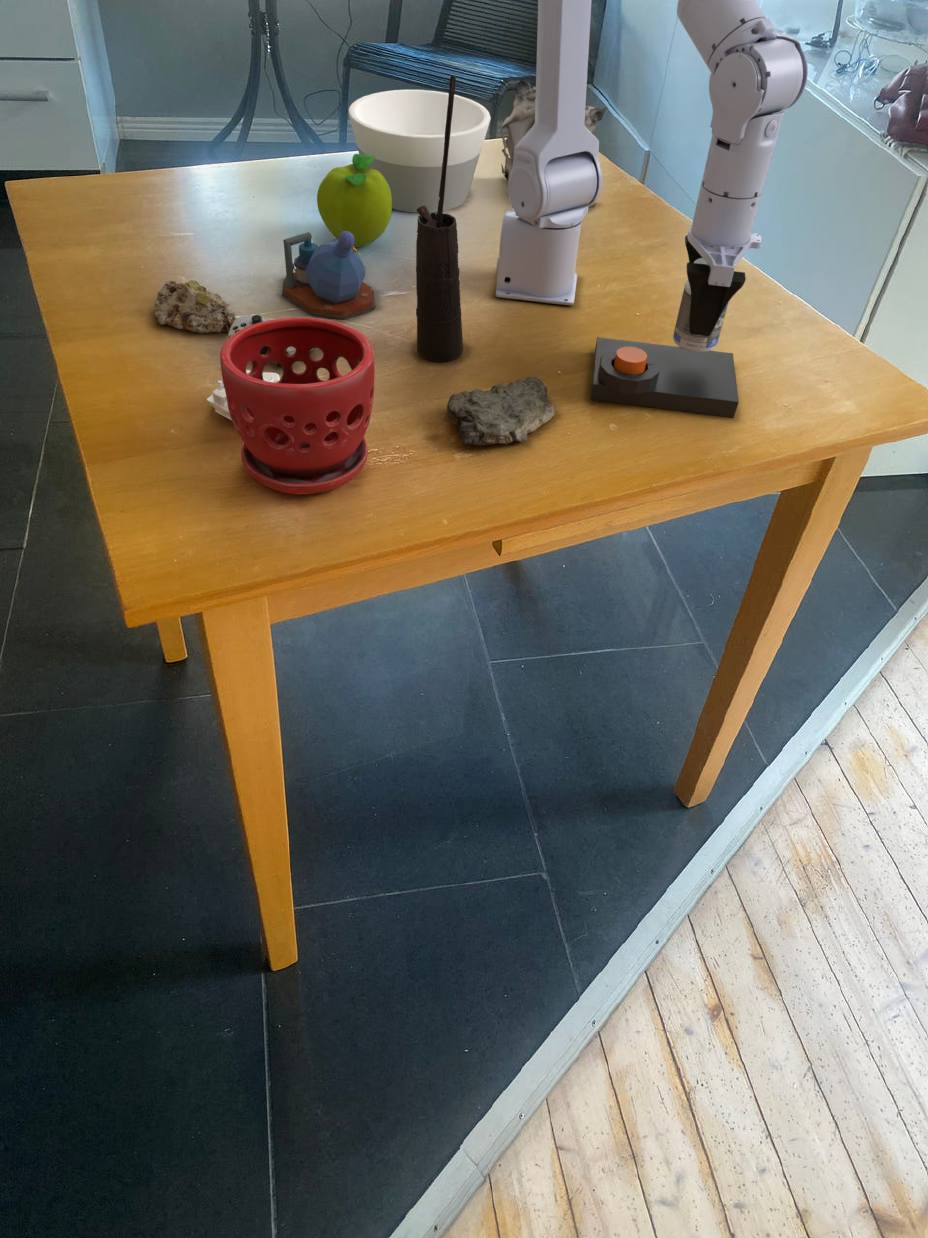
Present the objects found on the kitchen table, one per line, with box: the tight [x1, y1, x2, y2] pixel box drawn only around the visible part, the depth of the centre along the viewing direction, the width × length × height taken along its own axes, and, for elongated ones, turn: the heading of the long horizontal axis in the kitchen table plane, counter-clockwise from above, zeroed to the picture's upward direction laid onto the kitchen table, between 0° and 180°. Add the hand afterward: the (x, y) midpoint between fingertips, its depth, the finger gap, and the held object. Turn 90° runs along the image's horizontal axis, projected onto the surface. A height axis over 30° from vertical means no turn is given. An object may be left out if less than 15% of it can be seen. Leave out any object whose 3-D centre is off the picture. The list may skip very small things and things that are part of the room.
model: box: [281, 231, 377, 321], centre depth 109 cm, size 12×9×9 cm
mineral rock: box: [154, 279, 236, 334], centre depth 106 cm, size 11×4×8 cm
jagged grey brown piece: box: [500, 79, 607, 210], centre depth 133 cm, size 15×4×13 cm, turn 54°
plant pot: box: [219, 316, 376, 495], centre depth 85 cm, size 13×13×12 cm
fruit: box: [316, 153, 393, 248], centre depth 120 cm, size 9×9×10 cm
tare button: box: [614, 347, 647, 375], centre depth 98 cm, size 3×3×2 cm
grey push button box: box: [590, 336, 740, 418], centre depth 101 cm, size 15×11×4 cm
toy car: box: [206, 369, 281, 421], centre depth 94 cm, size 5×8×4 cm, turn 142°
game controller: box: [227, 314, 316, 368], centre depth 102 cm, size 10×5×6 cm
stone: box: [446, 376, 555, 446], centre depth 94 cm, size 14×8×3 cm, turn 123°
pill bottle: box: [672, 258, 730, 352], centre depth 97 cm, size 5×5×8 cm
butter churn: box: [415, 74, 464, 363], centre depth 96 cm, size 9×10×28 cm
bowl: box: [348, 89, 491, 214], centre depth 132 cm, size 19×19×11 cm
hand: (698, 321), depth 99 cm, fingers closed on pill bottle, 5 cm apart
